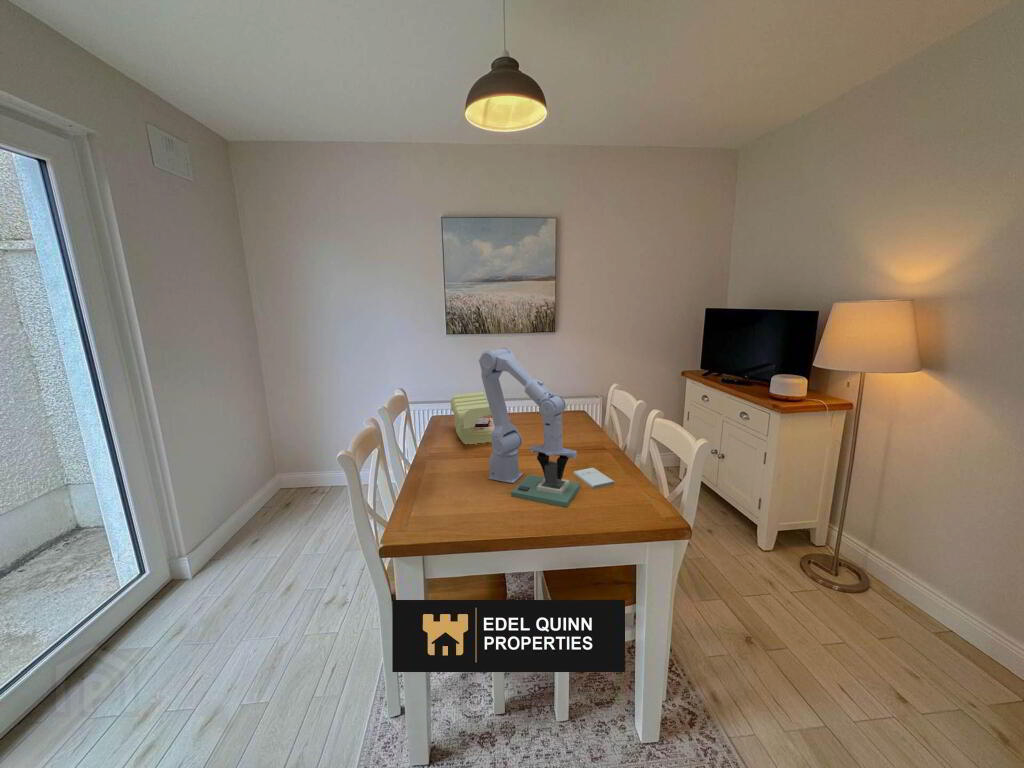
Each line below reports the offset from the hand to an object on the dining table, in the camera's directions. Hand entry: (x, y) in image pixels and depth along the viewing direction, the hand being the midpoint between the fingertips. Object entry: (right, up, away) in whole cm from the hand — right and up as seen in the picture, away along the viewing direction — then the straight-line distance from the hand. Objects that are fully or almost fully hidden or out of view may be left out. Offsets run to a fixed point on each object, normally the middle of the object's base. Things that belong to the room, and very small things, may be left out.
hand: (553, 476), depth 126 cm
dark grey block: (0, -2, 0) cm, 2 cm away
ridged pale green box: (-29, +4, +53) cm, 60 cm away
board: (-2, -5, +1) cm, 5 cm away
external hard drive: (+14, -4, +9) cm, 18 cm away
